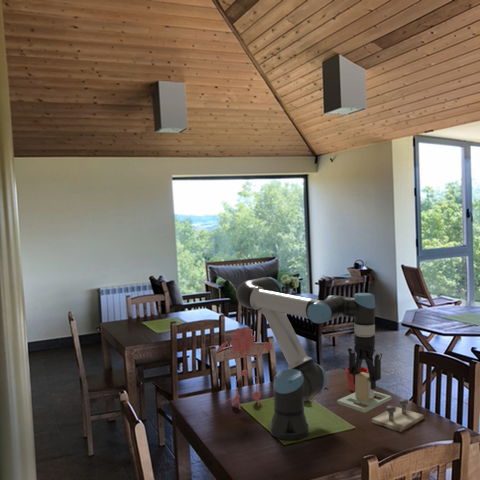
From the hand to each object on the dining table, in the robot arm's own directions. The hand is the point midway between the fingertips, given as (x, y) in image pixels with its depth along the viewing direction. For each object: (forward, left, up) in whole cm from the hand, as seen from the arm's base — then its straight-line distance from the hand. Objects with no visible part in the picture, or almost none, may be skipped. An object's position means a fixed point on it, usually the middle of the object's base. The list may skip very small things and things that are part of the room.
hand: (364, 395), depth 186 cm
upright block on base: (0, 0, -2) cm, 2 cm away
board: (0, +23, -17) cm, 28 cm away
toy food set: (-50, +20, -17) cm, 56 cm away
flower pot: (-32, +42, -17) cm, 56 cm away
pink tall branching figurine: (-59, -8, -17) cm, 62 cm away
